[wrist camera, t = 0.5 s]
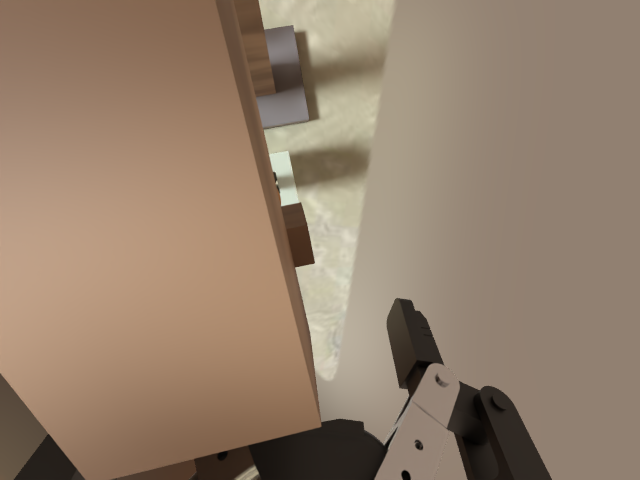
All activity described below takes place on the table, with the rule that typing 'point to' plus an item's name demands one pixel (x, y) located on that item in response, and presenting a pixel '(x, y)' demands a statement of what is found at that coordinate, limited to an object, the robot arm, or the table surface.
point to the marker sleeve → (284, 177)
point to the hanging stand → (150, 230)
